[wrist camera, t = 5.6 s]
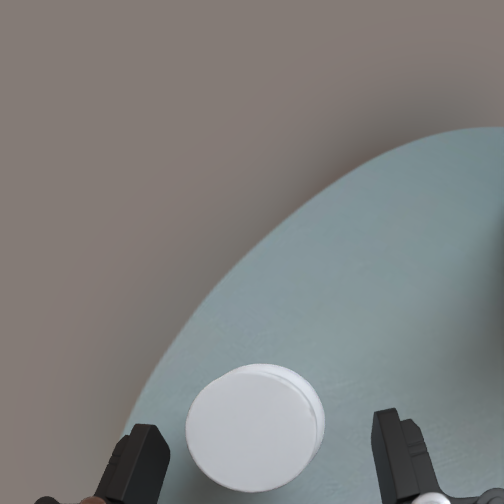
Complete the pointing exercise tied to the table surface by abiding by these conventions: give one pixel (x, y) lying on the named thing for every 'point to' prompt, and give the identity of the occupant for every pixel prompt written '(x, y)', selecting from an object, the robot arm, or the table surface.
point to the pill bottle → (255, 427)
